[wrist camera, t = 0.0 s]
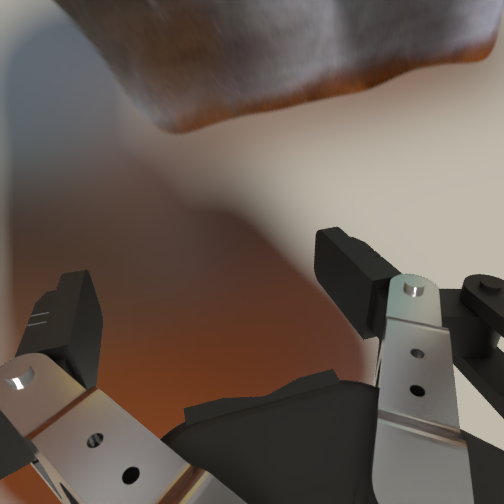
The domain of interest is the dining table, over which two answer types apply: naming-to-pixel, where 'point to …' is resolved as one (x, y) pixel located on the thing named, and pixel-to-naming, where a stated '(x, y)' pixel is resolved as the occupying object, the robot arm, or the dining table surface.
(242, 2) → the dining table surface
